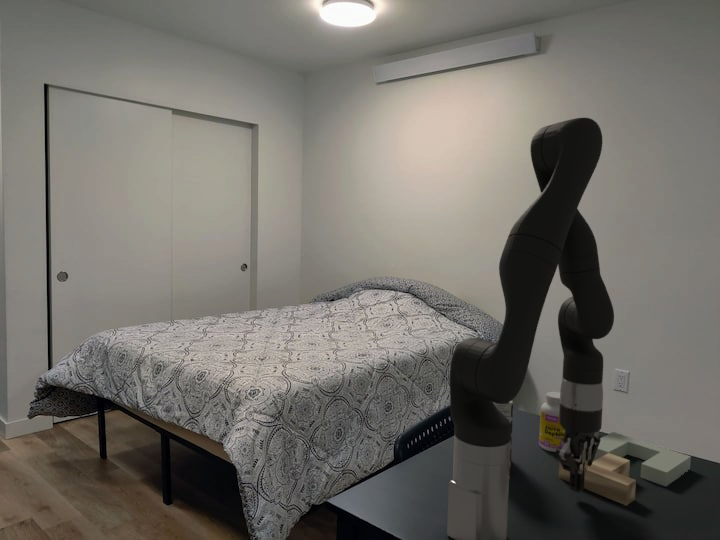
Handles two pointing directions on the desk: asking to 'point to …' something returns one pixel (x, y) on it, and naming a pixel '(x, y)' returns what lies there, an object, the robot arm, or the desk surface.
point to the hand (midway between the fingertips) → (576, 489)
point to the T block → (608, 478)
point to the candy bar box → (508, 413)
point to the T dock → (646, 457)
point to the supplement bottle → (551, 424)
